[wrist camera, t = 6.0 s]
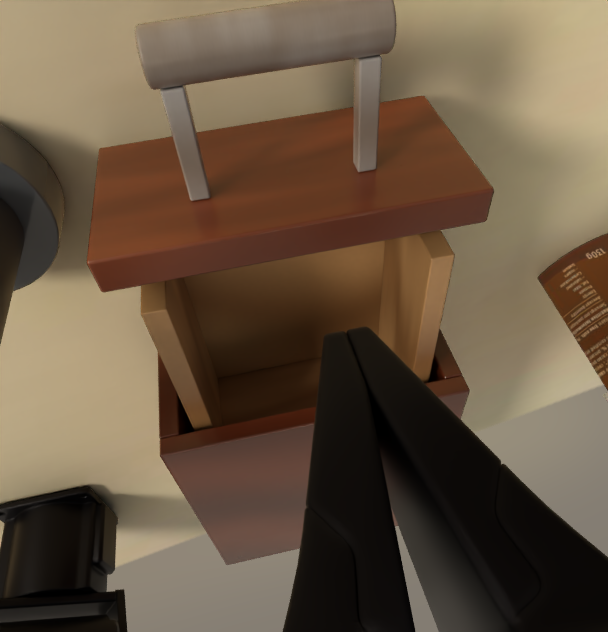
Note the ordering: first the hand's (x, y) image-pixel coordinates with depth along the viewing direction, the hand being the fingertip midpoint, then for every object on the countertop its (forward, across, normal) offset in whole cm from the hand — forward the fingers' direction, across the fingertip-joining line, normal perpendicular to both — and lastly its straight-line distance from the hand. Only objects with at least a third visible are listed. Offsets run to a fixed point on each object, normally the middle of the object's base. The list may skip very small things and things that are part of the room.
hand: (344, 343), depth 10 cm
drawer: (+11, 0, +6) cm, 13 cm away
